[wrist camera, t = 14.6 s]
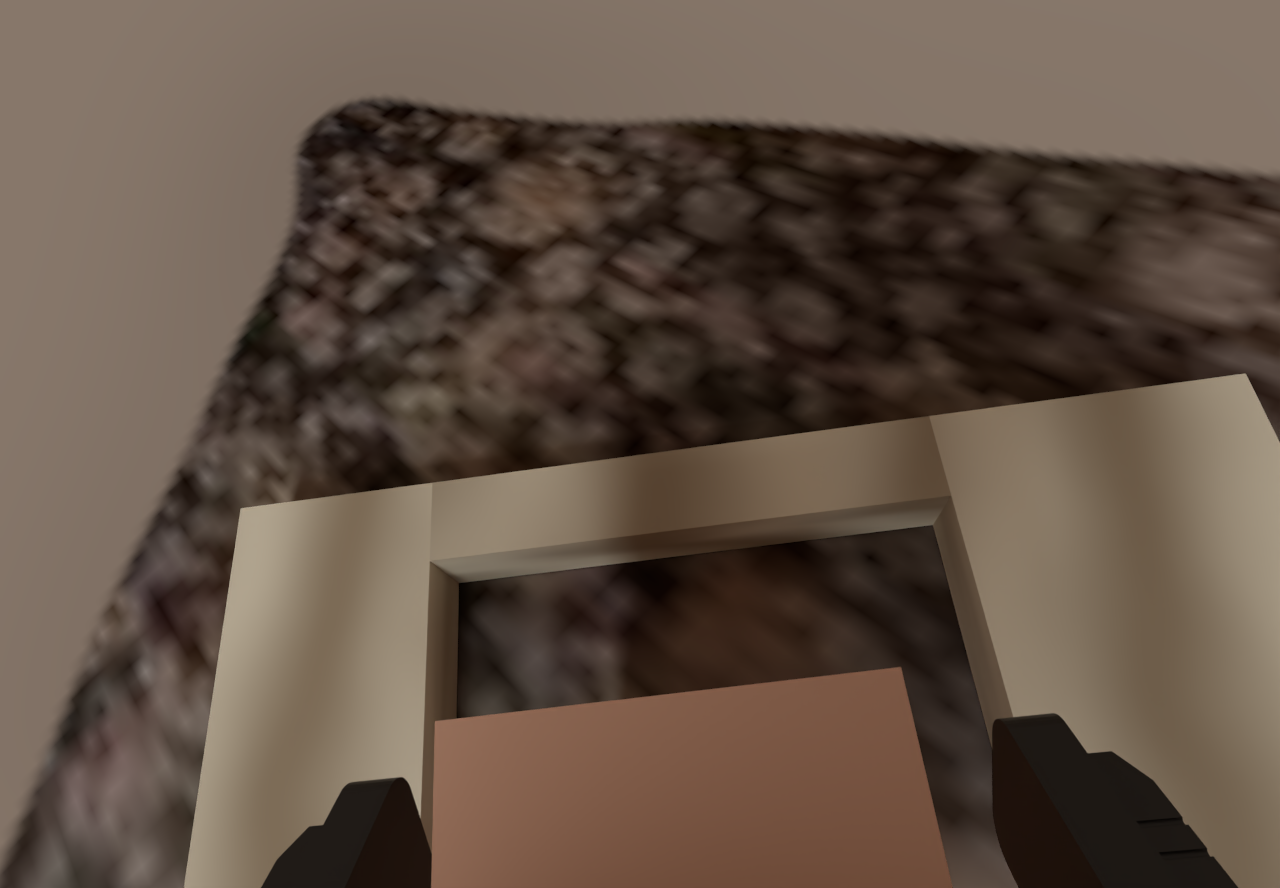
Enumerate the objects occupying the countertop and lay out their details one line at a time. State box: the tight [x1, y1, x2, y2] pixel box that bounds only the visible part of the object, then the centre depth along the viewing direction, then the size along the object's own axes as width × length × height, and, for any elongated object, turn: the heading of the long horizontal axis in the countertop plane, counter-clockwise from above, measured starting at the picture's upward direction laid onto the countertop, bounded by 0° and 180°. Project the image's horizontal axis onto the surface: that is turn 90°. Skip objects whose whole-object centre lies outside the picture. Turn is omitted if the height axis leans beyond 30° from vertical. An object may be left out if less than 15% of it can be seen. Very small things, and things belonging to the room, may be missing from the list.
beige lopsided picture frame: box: [184, 374, 1280, 888], centre depth 15 cm, size 24×18×2 cm
